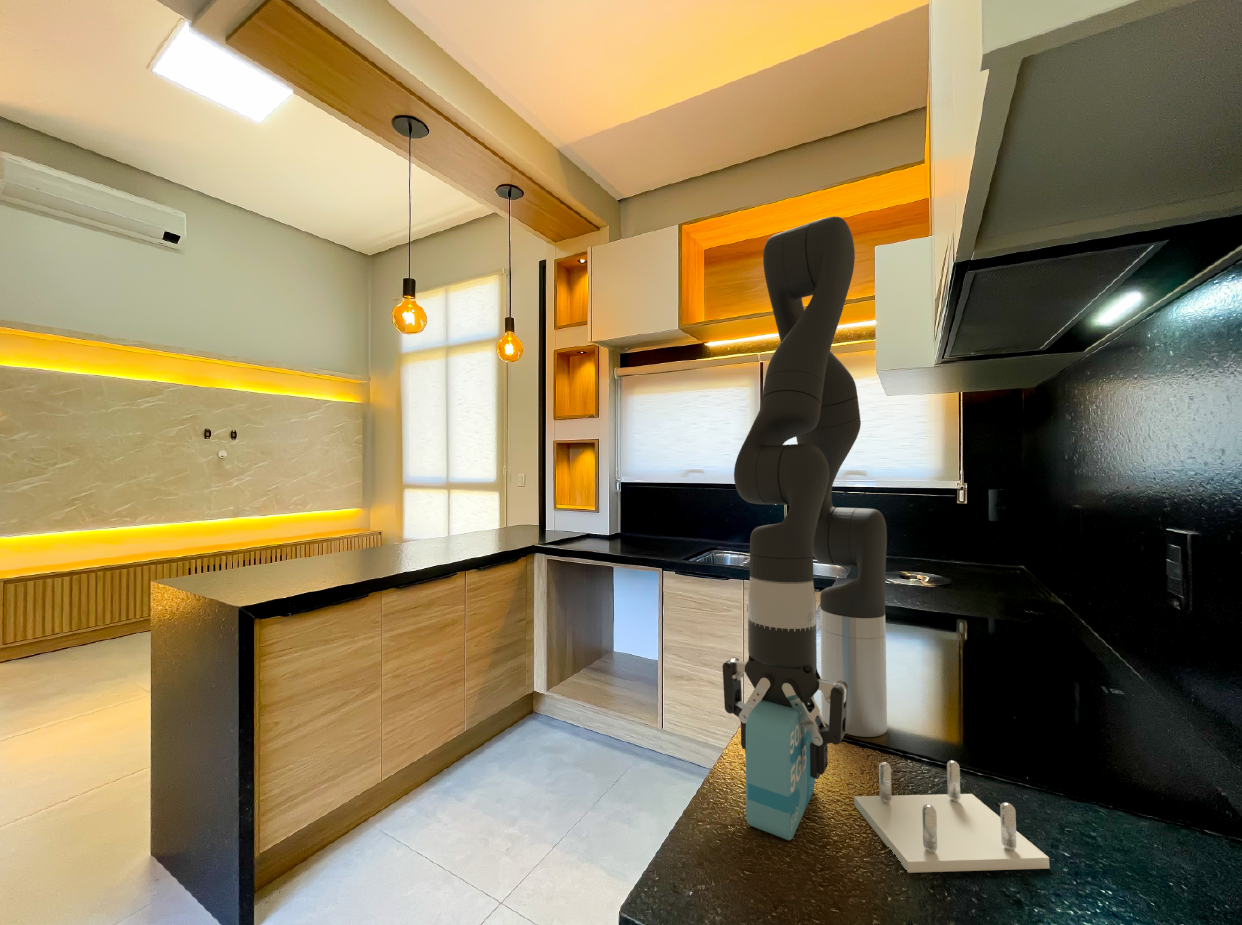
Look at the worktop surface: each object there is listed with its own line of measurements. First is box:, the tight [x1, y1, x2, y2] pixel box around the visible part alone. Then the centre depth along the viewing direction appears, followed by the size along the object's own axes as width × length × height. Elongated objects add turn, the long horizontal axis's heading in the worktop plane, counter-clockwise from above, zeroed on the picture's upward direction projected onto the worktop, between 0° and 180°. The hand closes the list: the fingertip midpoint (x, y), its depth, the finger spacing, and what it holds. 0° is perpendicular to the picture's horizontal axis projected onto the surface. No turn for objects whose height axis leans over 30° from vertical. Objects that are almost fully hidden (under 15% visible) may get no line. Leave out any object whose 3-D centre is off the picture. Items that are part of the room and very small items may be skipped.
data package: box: [745, 695, 816, 841], centre depth 57 cm, size 12×4×12 cm, turn 146°
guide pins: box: [878, 759, 1017, 853], centre depth 53 cm, size 9×9×4 cm
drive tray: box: [853, 793, 1050, 874], centre depth 53 cm, size 10×14×1 cm
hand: (782, 763), depth 57 cm, fingers open, 7 cm apart
